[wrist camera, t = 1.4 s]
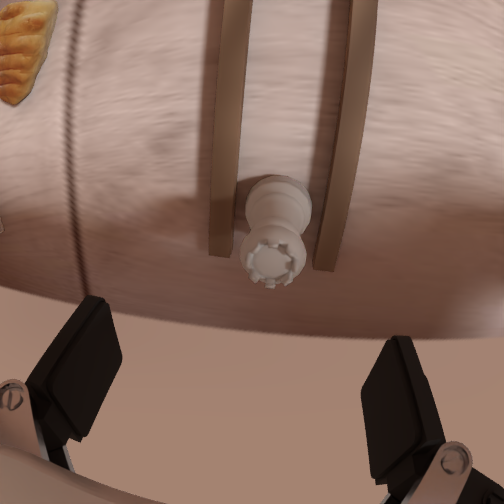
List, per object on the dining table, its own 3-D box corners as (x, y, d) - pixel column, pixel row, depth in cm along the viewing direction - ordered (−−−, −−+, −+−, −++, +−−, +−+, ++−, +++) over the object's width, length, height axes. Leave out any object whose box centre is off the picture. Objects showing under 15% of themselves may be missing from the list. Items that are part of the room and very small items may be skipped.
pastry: (47, 102, 19) (15, 109, 16) (1, 101, 19) (-28, 108, 16) (67, -4, 14) (36, -10, 11) (17, 7, 14) (-12, 6, 11)
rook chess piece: (267, 243, 23) (255, 316, 16) (234, 193, 21) (204, 249, 14) (322, 216, 21) (335, 283, 14) (291, 161, 20) (290, 203, 13)
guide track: (375, -54, 11) (379, -61, 10) (331, 263, 23) (333, 272, 22) (238, -71, 12) (234, -78, 11) (212, 247, 24) (208, 255, 23)
